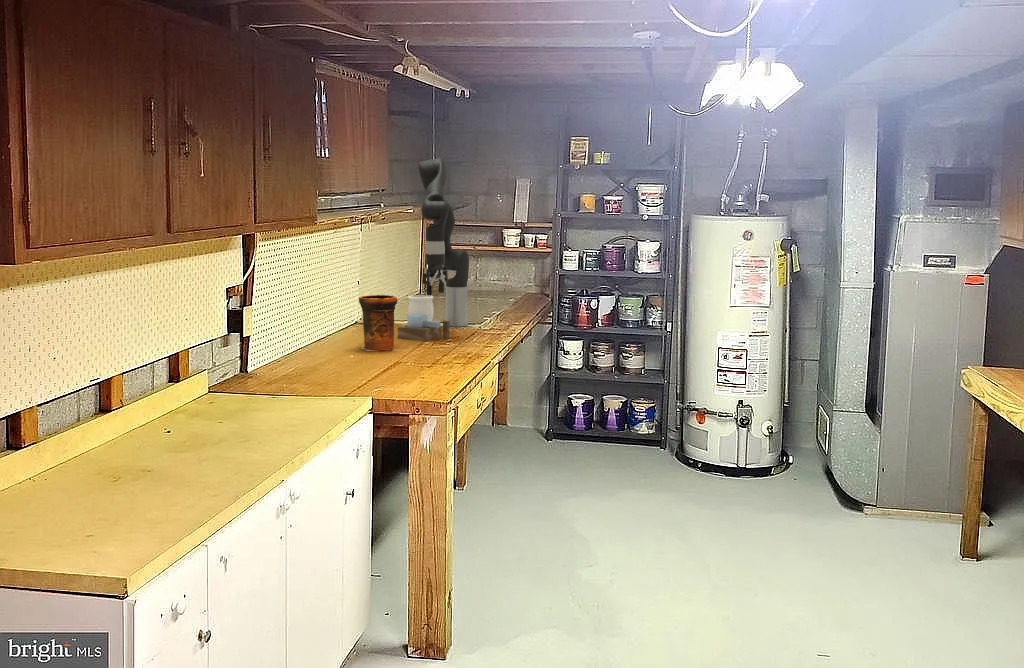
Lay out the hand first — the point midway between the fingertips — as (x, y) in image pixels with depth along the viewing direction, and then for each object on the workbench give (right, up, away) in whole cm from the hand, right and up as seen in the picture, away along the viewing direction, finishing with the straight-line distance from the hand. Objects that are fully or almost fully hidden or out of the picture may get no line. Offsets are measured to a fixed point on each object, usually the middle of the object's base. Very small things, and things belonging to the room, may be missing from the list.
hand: (435, 293), depth 389 cm
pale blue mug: (-5, -18, +4) cm, 19 cm away
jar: (-8, -15, +26) cm, 32 cm away
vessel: (-20, -22, -15) cm, 33 cm away
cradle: (-4, -18, +5) cm, 19 cm away
